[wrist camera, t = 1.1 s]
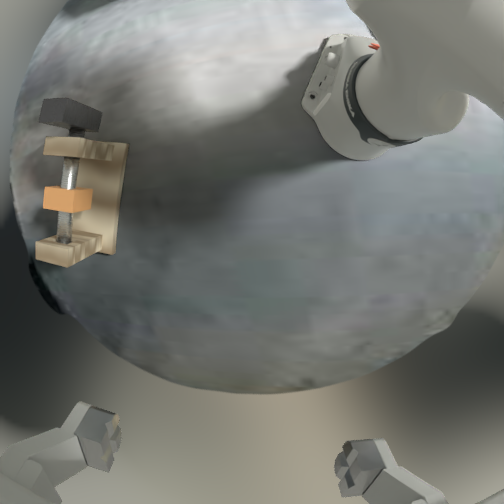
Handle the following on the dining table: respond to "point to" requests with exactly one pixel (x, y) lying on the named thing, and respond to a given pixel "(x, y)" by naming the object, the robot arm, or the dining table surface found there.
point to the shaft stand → (103, 199)
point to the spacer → (67, 199)
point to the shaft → (78, 123)
